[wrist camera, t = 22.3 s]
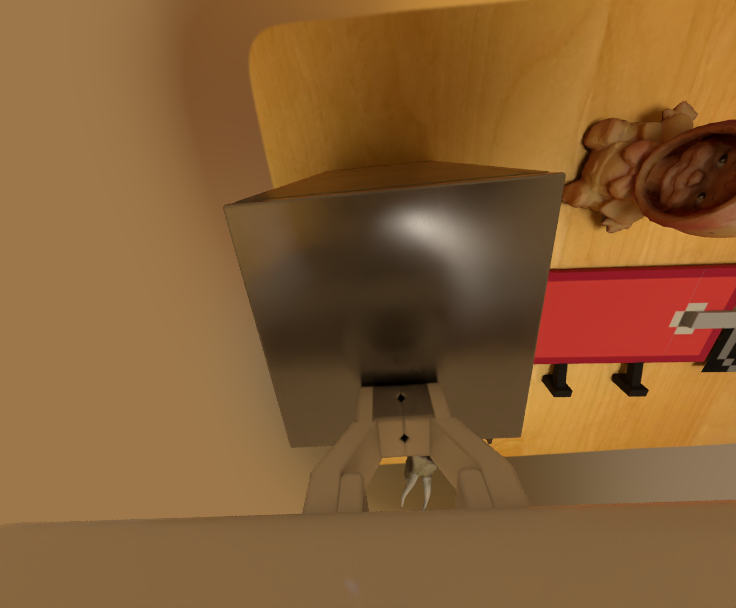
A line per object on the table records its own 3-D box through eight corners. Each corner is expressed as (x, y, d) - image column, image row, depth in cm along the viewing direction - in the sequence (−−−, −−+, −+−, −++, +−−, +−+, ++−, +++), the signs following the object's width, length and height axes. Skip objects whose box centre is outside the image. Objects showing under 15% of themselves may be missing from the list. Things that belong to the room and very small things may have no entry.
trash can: (431, 262, 30) (509, 408, 13) (340, 270, 31) (295, 419, 13) (432, 160, 26) (550, 171, 9) (326, 171, 26) (233, 201, 9)
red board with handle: (743, 378, 36) (820, 260, 29) (771, 395, 33) (862, 269, 27) (492, 381, 37) (512, 269, 31) (501, 397, 35) (524, 278, 28)
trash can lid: (513, 422, 12) (521, 438, 12) (294, 433, 13) (290, 448, 12) (551, 171, 8) (567, 172, 8) (233, 202, 9) (221, 205, 8)
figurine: (590, 98, 24) (941, 41, 11) (658, 111, 25) (1029, 75, 13) (544, 223, 28) (755, 287, 15) (605, 226, 30) (839, 286, 17)
